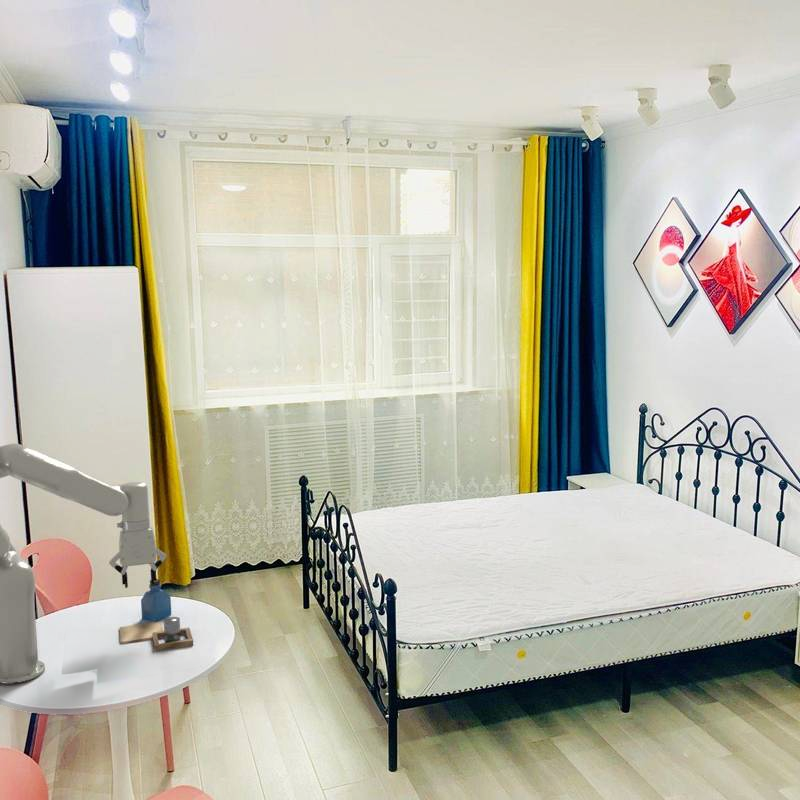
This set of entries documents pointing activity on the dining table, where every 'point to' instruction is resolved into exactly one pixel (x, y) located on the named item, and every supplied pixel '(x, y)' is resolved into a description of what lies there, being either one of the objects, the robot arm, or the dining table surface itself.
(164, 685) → the dining table surface
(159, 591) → the perfume bottle
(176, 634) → the peg
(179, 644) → the collar
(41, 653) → the dining table surface
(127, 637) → the mat
